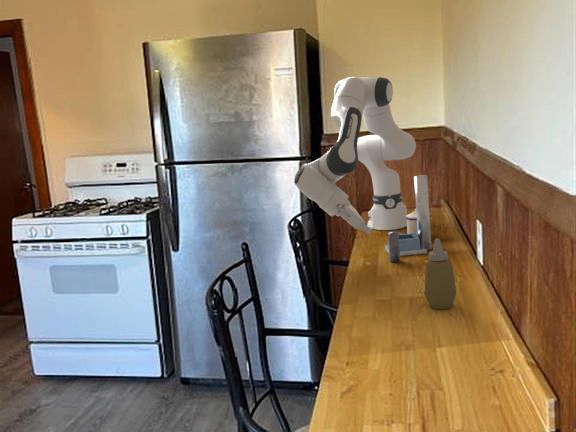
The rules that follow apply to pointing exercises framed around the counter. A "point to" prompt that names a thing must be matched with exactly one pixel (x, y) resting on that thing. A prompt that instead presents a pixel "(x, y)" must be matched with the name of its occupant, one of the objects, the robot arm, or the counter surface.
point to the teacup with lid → (412, 223)
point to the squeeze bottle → (439, 279)
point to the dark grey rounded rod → (394, 246)
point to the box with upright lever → (412, 242)
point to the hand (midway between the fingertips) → (367, 228)
